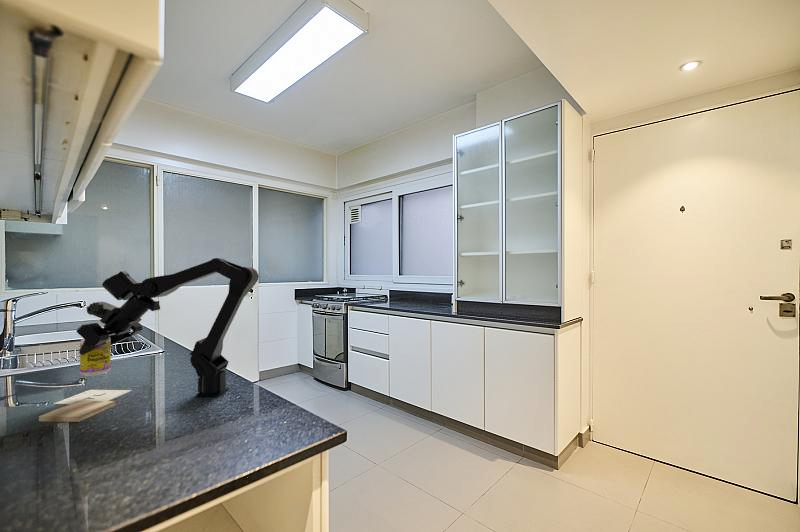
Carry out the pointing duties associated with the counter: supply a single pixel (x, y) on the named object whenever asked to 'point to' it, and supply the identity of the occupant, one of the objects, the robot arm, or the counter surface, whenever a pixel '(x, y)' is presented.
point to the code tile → (94, 396)
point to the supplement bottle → (96, 360)
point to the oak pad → (77, 411)
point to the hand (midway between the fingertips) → (90, 350)
